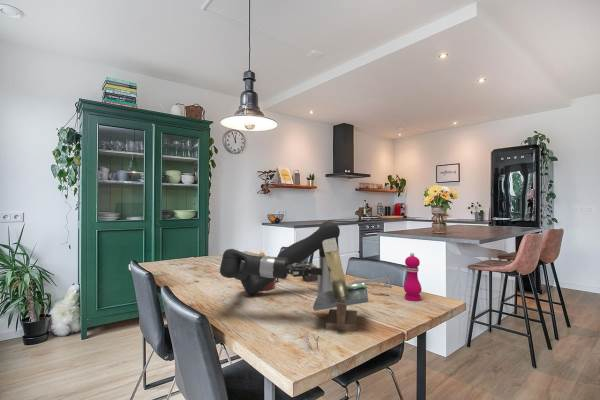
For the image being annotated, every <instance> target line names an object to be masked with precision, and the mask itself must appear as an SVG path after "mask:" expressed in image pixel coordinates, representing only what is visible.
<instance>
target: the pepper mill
mask: <svg viewBox="0 0 600 400" xmlns="http://www.w3.org/2000/svg"><path fill="white" fill-rule="evenodd" d="M420 262H421V261H420V258H419V257H417V256H415V253H414V252H410V254H409V256H408V257H407V256H406V258H405V261H404V264H405V266H406V271H407V277H406V279H405V280H406V281H405V282H404V284H403V290H404V292H405V294H404V296H405V297H404V298H405V300H408V301H410V302H411V301H412V302H419V301H421V298H422V297H421V295H420V294H421V293H422V290H423V289H422V285H421V283H420V281H419V277H418V274H419V273H418V272H419V266H420V264H421V263H420Z"/></svg>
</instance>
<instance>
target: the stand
mask: <svg viewBox="0 0 600 400" xmlns="http://www.w3.org/2000/svg"><path fill="white" fill-rule="evenodd" d="M347 307H348V306H344V303H339V302H337V307H336V309H335V308H329V311H328V314H327V317H326V322H325V330H332V331H347V332H348V331H349V332H357V330H358V329H357V327H358V326H357V325H358V319H357V318H358V311H357V310H356V309H355V310H353V309H352V310H351V309H347Z"/></svg>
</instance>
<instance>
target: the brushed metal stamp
mask: <svg viewBox="0 0 600 400" xmlns="http://www.w3.org/2000/svg"><path fill="white" fill-rule="evenodd" d="M322 244H323V249H324V253H325V257H326V262H327V266H328V271H329V276H330V280H331V285H332V289H333V291H327V292H321V293H317V296H316V298H315V301H314V303H313V305H312V308H313V312H317V311H322V310H327V309H329V310H330V309H335V308H337V302H339V303H344V306H347V307H348V306H354V305H359V304H367V303H369V295H368V287H367V284H366V283H352V284H347V283H346V277H345V274H344V269H343V264H342V260H341V254H340V249H339V250H338V248H337V243H336V238H331V239H326V240H324V241H323V242H322Z"/></svg>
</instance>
